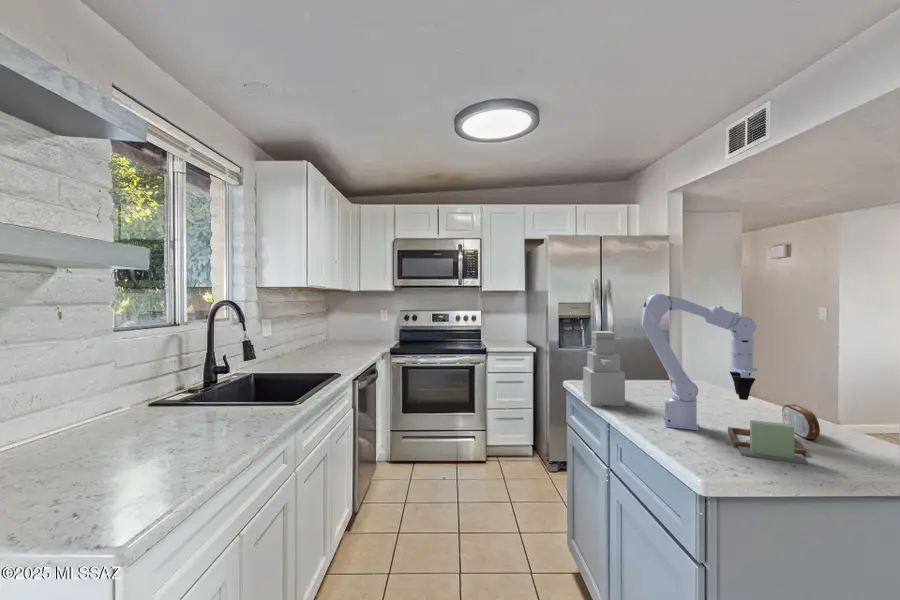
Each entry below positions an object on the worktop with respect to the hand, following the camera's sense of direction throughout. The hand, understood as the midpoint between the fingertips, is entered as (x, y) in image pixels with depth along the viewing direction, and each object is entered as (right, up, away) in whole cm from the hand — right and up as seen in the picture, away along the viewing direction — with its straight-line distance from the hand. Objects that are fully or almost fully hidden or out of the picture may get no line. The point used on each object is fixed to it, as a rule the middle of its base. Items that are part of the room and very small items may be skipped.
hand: (741, 396), depth 137 cm
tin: (+14, -11, -5) cm, 18 cm away
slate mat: (-7, -11, -22) cm, 25 cm away
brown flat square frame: (-2, -11, -12) cm, 16 cm away
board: (-7, -10, -22) cm, 25 cm away
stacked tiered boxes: (-31, -10, +38) cm, 50 cm away
